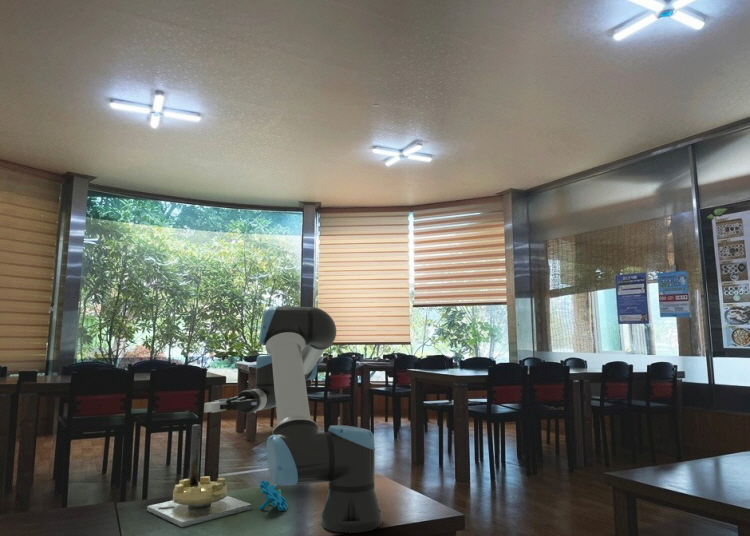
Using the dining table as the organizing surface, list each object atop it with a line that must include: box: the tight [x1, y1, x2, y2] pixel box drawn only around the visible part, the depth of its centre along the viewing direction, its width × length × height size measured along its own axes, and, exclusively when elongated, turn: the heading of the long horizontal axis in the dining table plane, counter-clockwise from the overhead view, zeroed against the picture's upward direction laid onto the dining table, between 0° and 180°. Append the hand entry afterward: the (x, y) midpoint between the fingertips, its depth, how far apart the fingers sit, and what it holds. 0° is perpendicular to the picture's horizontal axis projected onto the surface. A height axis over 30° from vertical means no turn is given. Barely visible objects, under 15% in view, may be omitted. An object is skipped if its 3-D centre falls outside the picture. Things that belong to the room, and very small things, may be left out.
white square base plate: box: [146, 495, 253, 528], centre depth 138 cm, size 20×20×3 cm
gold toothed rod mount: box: [172, 424, 228, 505], centre depth 140 cm, size 14×14×18 cm
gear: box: [259, 479, 288, 512], centre depth 139 cm, size 11×6×10 cm
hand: (208, 407), depth 152 cm, fingers open, 2 cm apart
